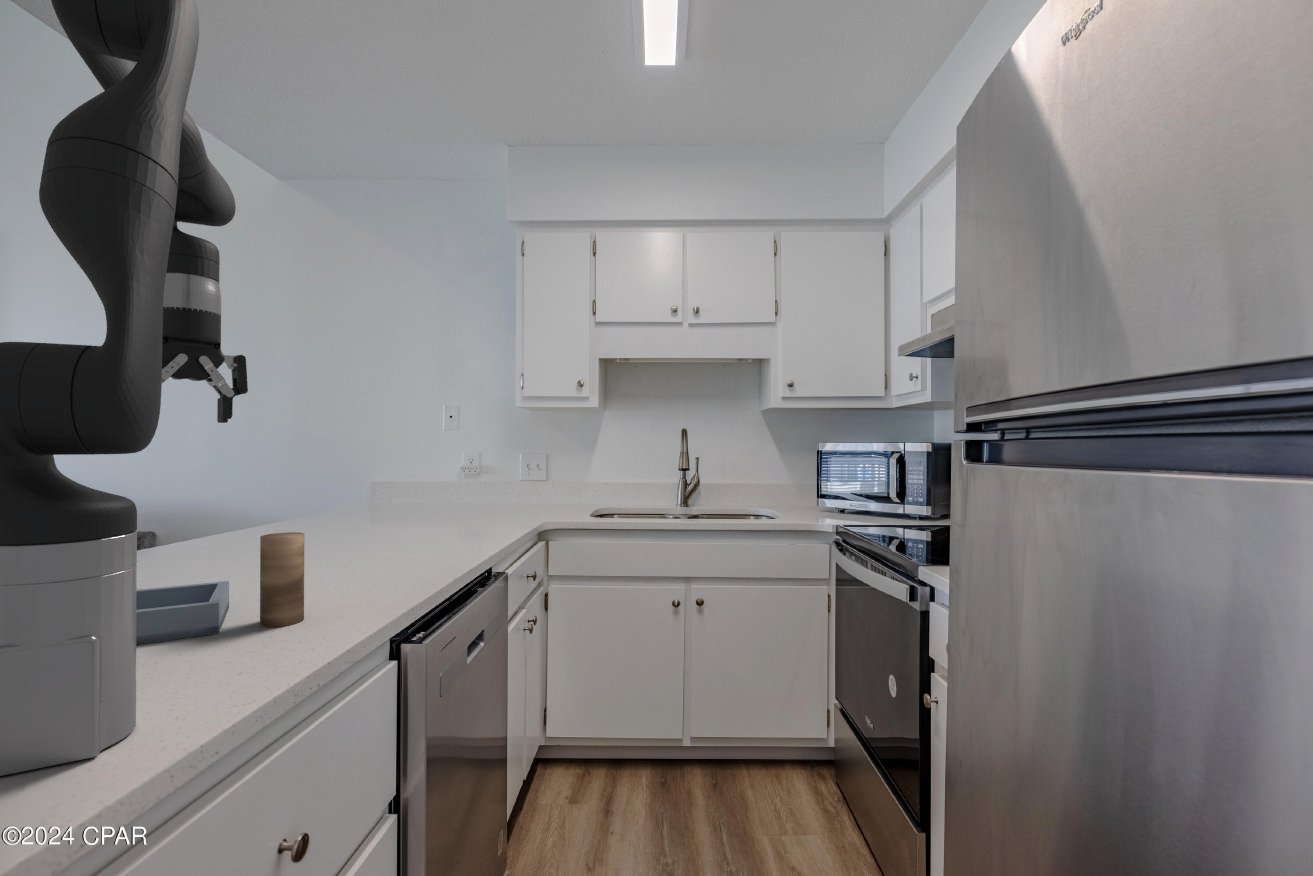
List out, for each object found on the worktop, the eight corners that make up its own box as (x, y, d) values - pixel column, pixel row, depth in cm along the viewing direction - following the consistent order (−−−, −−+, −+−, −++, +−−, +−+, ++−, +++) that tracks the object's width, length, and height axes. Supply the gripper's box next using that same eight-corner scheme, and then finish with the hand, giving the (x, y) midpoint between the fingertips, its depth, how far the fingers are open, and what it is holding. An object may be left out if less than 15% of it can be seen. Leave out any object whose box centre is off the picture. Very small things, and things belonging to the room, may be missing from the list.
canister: (304, 623, 83) (304, 536, 83) (258, 629, 80) (259, 539, 80) (303, 614, 87) (304, 531, 87) (260, 619, 85) (261, 534, 85)
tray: (218, 633, 78) (218, 602, 78) (72, 653, 71) (72, 619, 71) (229, 607, 90) (229, 580, 90) (105, 621, 83) (105, 592, 83)
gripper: (133, 297, 80) (132, 419, 80) (255, 315, 91) (254, 422, 91) (118, 305, 84) (116, 420, 84) (236, 321, 96) (235, 423, 95)
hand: (188, 421), depth 87 cm, fingers open, 8 cm apart
